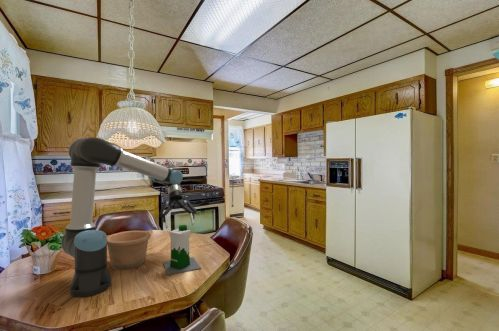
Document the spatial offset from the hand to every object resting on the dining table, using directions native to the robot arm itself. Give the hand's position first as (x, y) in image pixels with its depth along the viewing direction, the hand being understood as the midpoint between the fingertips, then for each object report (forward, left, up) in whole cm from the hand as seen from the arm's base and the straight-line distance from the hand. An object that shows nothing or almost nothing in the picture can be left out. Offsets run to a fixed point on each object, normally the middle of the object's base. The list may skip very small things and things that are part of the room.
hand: (180, 225), depth 134 cm
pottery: (-25, +12, -20) cm, 34 cm away
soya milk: (-1, -5, -19) cm, 20 cm away
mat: (0, -5, -20) cm, 20 cm away
